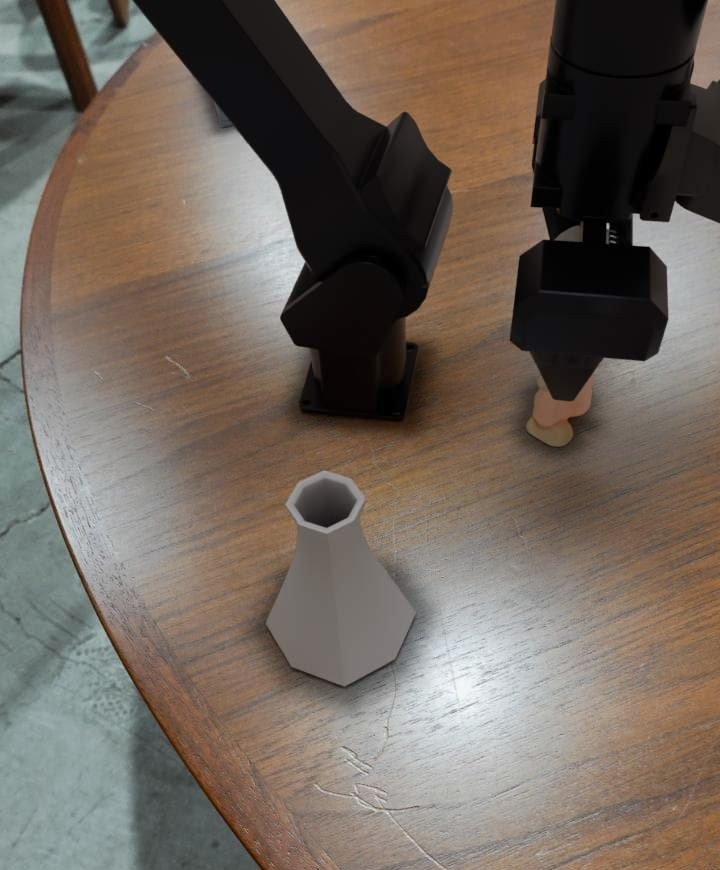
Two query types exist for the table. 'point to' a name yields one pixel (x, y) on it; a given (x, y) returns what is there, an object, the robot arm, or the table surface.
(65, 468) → the table surface
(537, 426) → the grandmother figurine
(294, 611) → the flask
